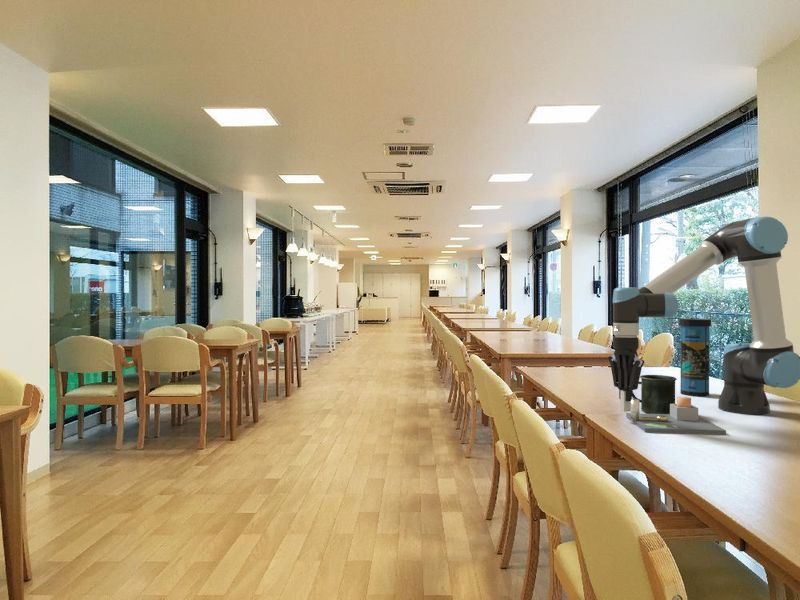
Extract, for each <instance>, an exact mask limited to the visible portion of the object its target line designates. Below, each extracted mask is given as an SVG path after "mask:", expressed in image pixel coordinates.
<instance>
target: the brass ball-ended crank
mask: <svg viewBox="0 0 800 600" xmlns="http://www.w3.org/2000/svg"><path fill="white" fill-rule="evenodd" d="M638 399H639V398H638ZM638 399H633V398H632V399H631V411H630V413H631V419H632V420H659V421H668V417H667V416H657V417H639V413H640V402H639V400H638Z"/></svg>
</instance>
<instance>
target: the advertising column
mask: <svg viewBox="0 0 800 600" xmlns="http://www.w3.org/2000/svg"><path fill="white" fill-rule="evenodd" d="M678 319H679V320H678V325H679V326H680V394H681V395H684V396H687V397H688V396H689V397H698V398H699V397H709V396H710V327H712V318H711V319H710V318H689V317H688V318H687V317H686V318H678Z"/></svg>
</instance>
